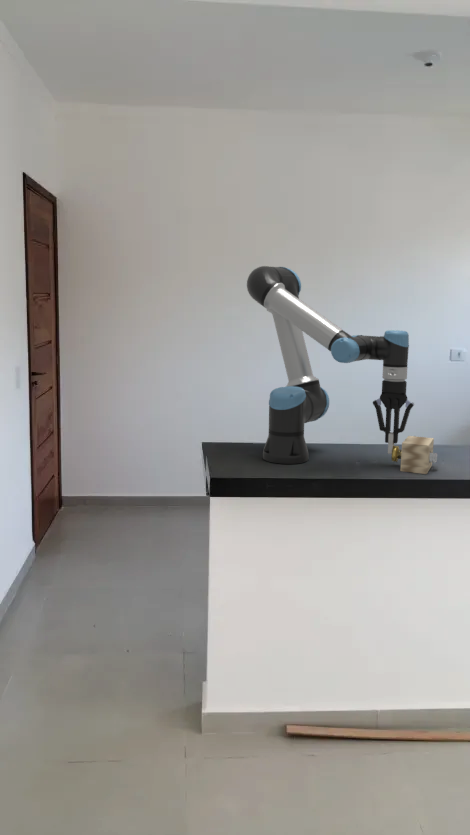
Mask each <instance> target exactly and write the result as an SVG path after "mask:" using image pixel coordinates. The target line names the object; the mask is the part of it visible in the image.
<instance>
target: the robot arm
mask: <svg viewBox="0 0 470 835" xmlns="http://www.w3.org/2000/svg"><path fill="white" fill-rule="evenodd" d="M249 273H250V274H249V275H248V277H247V280H246V289H247V292H248V294H249V296H250V297H251V298H252V299H253V300H254V301H255V302H256V303H258V304H259V305H261V306H262V307H263V308H265V309H266V311H267V312H268V313H270V314H271V315H272V318H273V323H274V326H275V330H276V334H277V338H278V339H277V340H278V343H279V347H280V351H281V356H282V359H283V364H284V368H285V372H286V375H287V376H286V377H287V380H288V382H287V384H286V386H281V387H277V388H274V389H273V390H271V391H270V394H269V399H268V405H269V406H268V436H267V439H266V442H265V444H264V447H263V451H262V459H263V460H264V461H266V462H270V463H275V464H280V465H281V464H285V465H289V464H290V465H295V464H301V463H305V462H308V461H309V455H310V454H309V449H308V447H307V443H306V439H305V424H307V423H309V422H315V421H317V420H319V419H320V418H323V417H324V416H325V415H326V413H327V412H328V410H329V408H330V407H329V406H330V397H329V394H328V392H327V391H326V389H324V388H323V387H322V386H321V383H320V380H319V378H318V377H316V376H314V374H313V370H312V369H313V368H312V366H311V361H310V358H309V353H308V349H307V346H306V342H305V337H304V334H306V335H307V336H308V337H310V338H312V339H313V340H314V341H315V342H317V343H318V344H319V345H321V346H322V347H323V348H325V349H327V350H328V351H329V352H330V354H331V356H332V358H333V360H335V361H336V362H339V363H341V364H349V363H353V362H359V361H364V360H369V361H370V360H374V361H382V363H383V364H382V379H383V380H382V382H381V394H380V396H379V398H378V399H374V400H373V401H372V405H373V406H374V409H375V413H376V416H377V422H378V427H379V431H382V432H384V433H385V435H384V442H385V444H387V454H388V455H392V449H393V446H395V444H396V445H397V443H398V441H399V433H403V432H404V431H405V429H406V426H407V422H408V419H409V416H410V414H411V410H412V409H413V407H414V406H415V402H412V401H411V400H409V399H408V396H407V384H408V383H407V381H406V380H407V379H408V364H409V363H408V360H409V348H410V343H409V342H410V340H409V339H410V338H409V332H408V331H406V330H396V329H395V330H392V329H391V330H389V329H388V330H386V331H384V334H383V335H382V336H381V335H380V336H377V335H376V336H375V335H362V334H360V335H359V334H356V335H350V334H349V333H348V332H346V331H345V330H343V329H342V327H339V326H338V325H337V324H335V323H334V322H332V321H331V320H329V319H328V318H326V317H325V316H324V315H322V314H321V313H320V312H318V311H317V310H315V309H314V308H313V307H311V306H310V305H308V304H307V303H306V302H304V301H302V300H301V299H300V296H299V295H300V293H301V291H302V282H301V279H300V276H299V275H298V273H297V272H295V271H294V270H292V269H291V268H288V267H285V266H268V265H267V266H266V265H262V266H259V267H256V268H254V269H253V270H252V271H251V272H249ZM381 405H383V406H384V407H385V419H384V416H383V415H384V414H383V411H382V406H381ZM404 405H405V410H404V413H403V416H402V420H401V424H400V411H401V409H402V407H403V406H404ZM392 411H393V430H391V426H392V424H391V423H392ZM384 420H385V421H384Z"/></svg>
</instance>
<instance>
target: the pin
mask: <svg viewBox="0 0 470 835" xmlns="http://www.w3.org/2000/svg"><path fill="white" fill-rule="evenodd" d="M401 453H402V449H400V446H399V445H394V446H393V449H392V454H391V462H394V463H395V462H399V460H401ZM437 460H438V452H437V453H436V452H433V453H430V457H429V462H432V464H433V463H434V464H436V463H437Z"/></svg>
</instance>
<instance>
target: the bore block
mask: <svg viewBox="0 0 470 835" xmlns="http://www.w3.org/2000/svg"><path fill="white" fill-rule="evenodd" d="M415 436H416V435H408V436H407V437H406V438H405V439H404V440H403V441H402V442H401V450H402V453H401V459H400V472H403V473H404V472H405V473H411V474H413V473H414V474H420V475H421V474H423V475H427V474H428V473H429V471H430V470H431V468H432V466H433V462H429V457H430V453H434V442H435V439H434V437H425V436H424V437H423V436H416V437H415Z"/></svg>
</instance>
